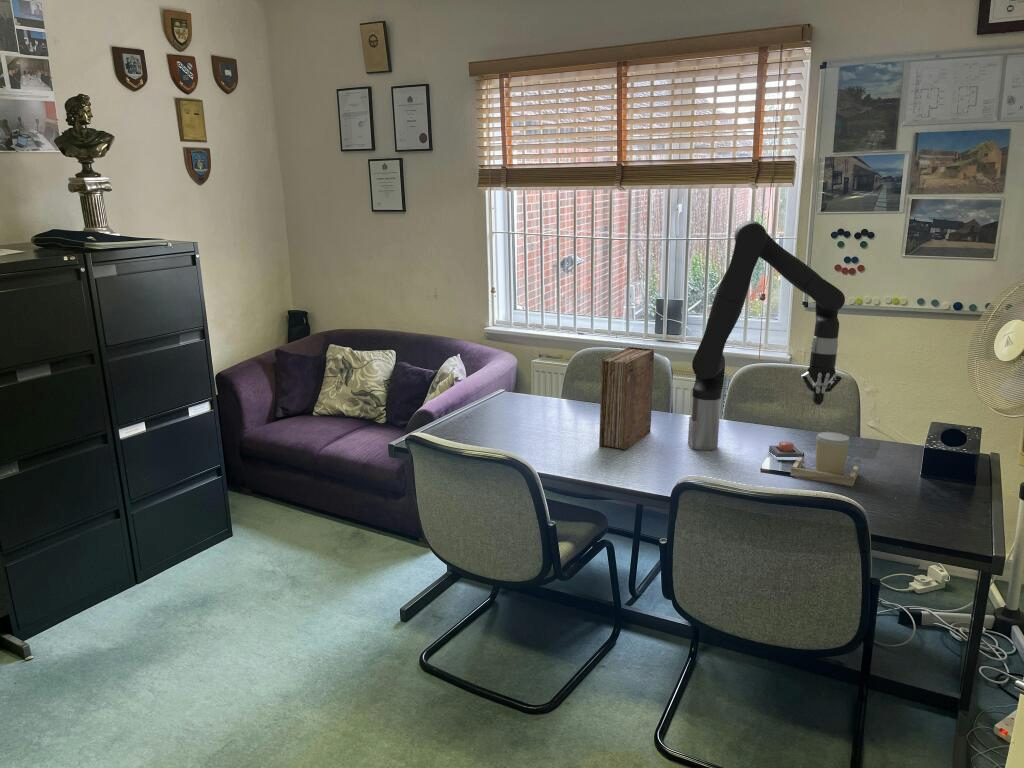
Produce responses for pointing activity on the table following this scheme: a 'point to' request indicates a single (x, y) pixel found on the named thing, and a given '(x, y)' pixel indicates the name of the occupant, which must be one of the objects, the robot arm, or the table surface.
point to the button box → (777, 453)
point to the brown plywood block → (626, 397)
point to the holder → (823, 474)
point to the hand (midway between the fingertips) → (817, 403)
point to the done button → (786, 446)
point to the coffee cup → (831, 452)
